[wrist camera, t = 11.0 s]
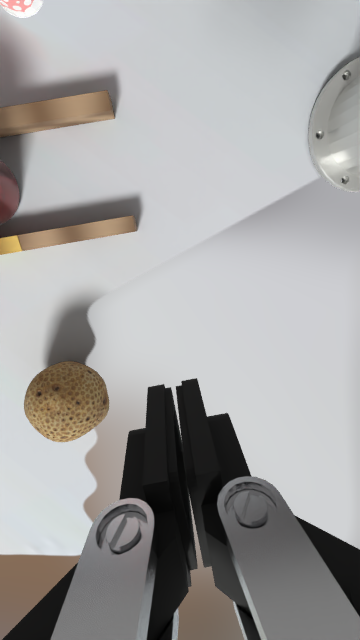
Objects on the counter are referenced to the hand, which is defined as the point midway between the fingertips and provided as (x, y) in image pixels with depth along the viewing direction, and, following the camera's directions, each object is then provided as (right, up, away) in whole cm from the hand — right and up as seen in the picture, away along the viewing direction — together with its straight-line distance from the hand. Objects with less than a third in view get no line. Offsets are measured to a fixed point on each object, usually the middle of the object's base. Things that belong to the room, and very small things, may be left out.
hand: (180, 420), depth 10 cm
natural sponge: (-13, -4, +29) cm, 32 cm away
